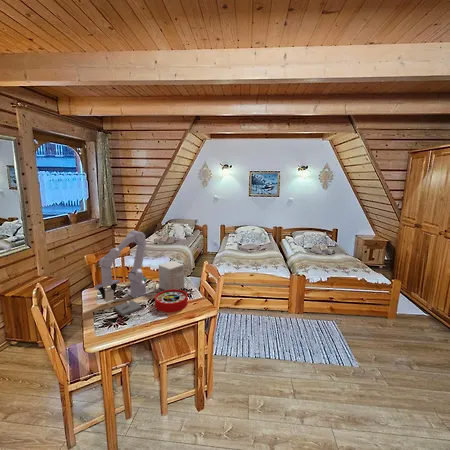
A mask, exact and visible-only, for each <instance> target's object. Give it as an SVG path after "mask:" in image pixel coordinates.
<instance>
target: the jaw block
mask: <svg viewBox="0 0 450 450" xmlns="http://www.w3.org/2000/svg"><path fill="white" fill-rule="evenodd" d="M104 289H105V299H103V298H102V300H103V301H104V302H105V303H106V302H107V303H108V302H110V301H113V300H115V293H114V290H112V289H111V287H109V288H104Z"/></svg>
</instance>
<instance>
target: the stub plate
mask: <svg viewBox="0 0 450 450" xmlns="http://www.w3.org/2000/svg"><path fill="white" fill-rule="evenodd" d="M113 309H114V311H116V312H117V313H118V314H119V315H121V316H122V317H125V316H127V315H131V314H133V313H136V312H139V311H140V310H142V309H143V306H141V305H140V304H139V303H137V302H136V301H134V300H126V302H123V303H121V304H118V305H115V306H113Z"/></svg>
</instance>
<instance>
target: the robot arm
mask: <svg viewBox="0 0 450 450" xmlns="http://www.w3.org/2000/svg"><path fill="white" fill-rule="evenodd" d="M146 240H147V239H146V234H144V232H143V231H139V230H138V231H137V230H134V229H132V230H130V231H129V233H127V234H126V236H125V238H124V239H123V240H122V241H121V242H120V243H119V245H117V246H116V247H113V248H111V249H110V250H109V252H108V253H107V254H105V255H104V256H103V257H101V258H100V259H99V261H98V265H99V266H100V273H101V275H100V276H101V283H99V284H96V285H94V290H96V291H97V290H99V293H100V294H101V297H102V300H103V299H105V289H106V287H109V286H110V288H111V289H112V290H114V294H115V292H116V289H117V287H118V284H120V279H115V280H114V279H113V276H112V266H113V263H114V261H115V260H116V259H117V258H118V257H119V256H120V255H121V254H122V253H121V251H123V250H124V249H125V248H126V247H128V245H129V244H131V243H135V244H136V251H135V255H134V256H135V257H134V259H133V260H134V261H133V266H132V268H130V270H129V273H128V275H127V279H128V280H129V283H130V284H129V286H130V287H129V288H130V292H129V293H128V295H129V296H130V297H132V298H133V299H134V298H138V297H141V296H144V295H146V294H147V289H146V288H147V287H146V286H147V285H146V281H145V282H144V281H143V278H144V277H143V276H144V272H143V270H142V268H143V267H142V266H143V261H144V258H145V251H146V248H147V241H146Z"/></svg>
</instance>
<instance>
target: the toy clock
mask: <svg viewBox="0 0 450 450" xmlns="http://www.w3.org/2000/svg"><path fill="white" fill-rule="evenodd" d="M154 305H155V309H156V310H157V311H159V312H162V313H175V312H179V311H180V312H181V311H182V310H184V309H185V308H186V307H187V306H188V293H187V292H186V291H185V290H181V289H178V290H176V289H172V290H162V291H160V292H159V293H156V295H155V297H154Z"/></svg>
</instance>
